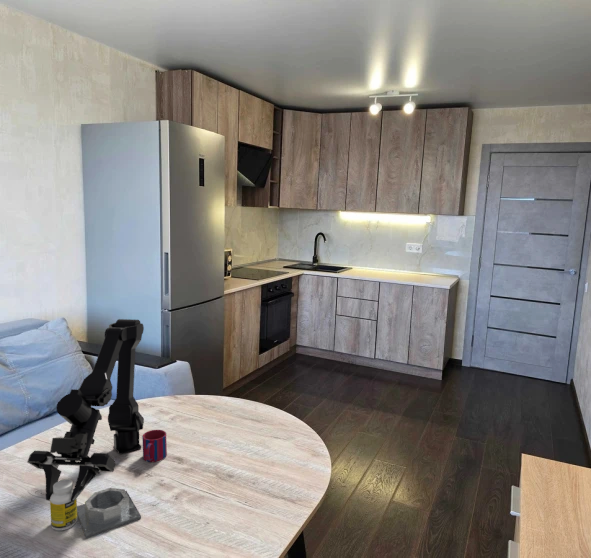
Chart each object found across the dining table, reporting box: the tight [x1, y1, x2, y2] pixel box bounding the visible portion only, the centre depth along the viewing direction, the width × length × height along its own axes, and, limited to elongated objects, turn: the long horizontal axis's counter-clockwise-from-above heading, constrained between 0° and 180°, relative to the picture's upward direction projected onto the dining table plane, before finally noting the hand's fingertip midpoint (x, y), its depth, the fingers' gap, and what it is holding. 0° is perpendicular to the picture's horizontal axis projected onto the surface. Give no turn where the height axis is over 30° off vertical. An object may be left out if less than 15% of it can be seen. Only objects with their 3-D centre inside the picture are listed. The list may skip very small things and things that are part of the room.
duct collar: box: [77, 487, 142, 539], centre depth 110 cm, size 12×12×4 cm
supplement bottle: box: [49, 478, 78, 531], centre depth 106 cm, size 5×5×10 cm
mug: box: [141, 429, 168, 463], centre depth 135 cm, size 7×10×7 cm
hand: (59, 500), depth 104 cm, fingers closed on supplement bottle, 5 cm apart
